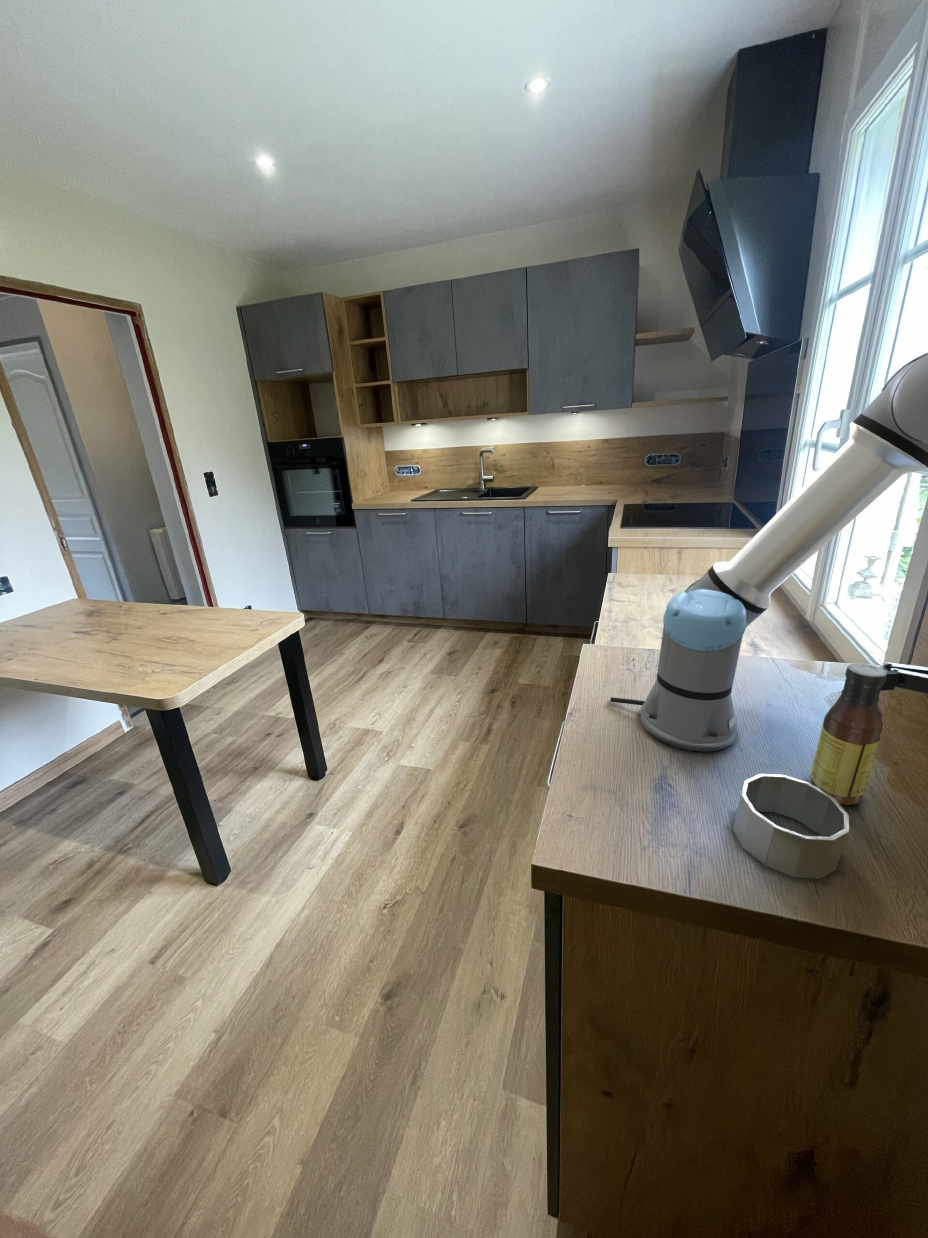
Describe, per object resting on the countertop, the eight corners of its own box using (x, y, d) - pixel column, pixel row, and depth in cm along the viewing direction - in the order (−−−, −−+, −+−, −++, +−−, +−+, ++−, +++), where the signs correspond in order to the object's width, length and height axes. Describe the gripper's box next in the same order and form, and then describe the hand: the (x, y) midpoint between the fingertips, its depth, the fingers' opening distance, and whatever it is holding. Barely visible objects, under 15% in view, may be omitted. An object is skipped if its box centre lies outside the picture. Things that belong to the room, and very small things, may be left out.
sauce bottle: (847, 780, 71) (887, 659, 64) (870, 811, 66) (916, 682, 58) (798, 774, 73) (831, 656, 66) (816, 804, 67) (854, 678, 60)
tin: (727, 850, 61) (736, 813, 58) (740, 798, 69) (748, 763, 67) (836, 895, 55) (850, 855, 52) (836, 831, 63) (848, 795, 61)
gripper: (1157, 784, 55) (980, 796, 54) (943, 678, 78) (817, 686, 78) (1191, 728, 52) (1005, 740, 52) (960, 636, 76) (828, 643, 75)
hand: (892, 708), depth 65 cm, fingers open, 13 cm apart
